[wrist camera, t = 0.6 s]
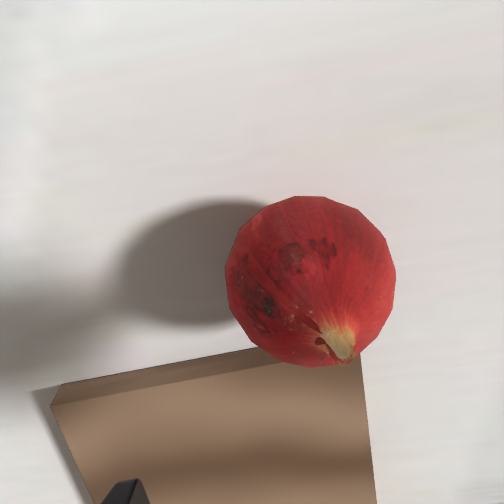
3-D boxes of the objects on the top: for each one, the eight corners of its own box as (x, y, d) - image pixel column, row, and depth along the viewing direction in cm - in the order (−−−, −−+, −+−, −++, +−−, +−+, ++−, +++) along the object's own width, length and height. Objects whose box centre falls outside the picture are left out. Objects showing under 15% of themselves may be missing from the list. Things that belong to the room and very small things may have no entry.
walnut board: (371, 506, 25) (380, 532, 23) (133, 550, 25) (127, 577, 24) (350, 329, 20) (359, 347, 19) (62, 384, 21) (49, 406, 19)
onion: (208, 280, 19) (195, 405, 12) (254, 156, 17) (274, 211, 10) (327, 317, 20) (385, 455, 13) (382, 204, 18) (489, 287, 11)
